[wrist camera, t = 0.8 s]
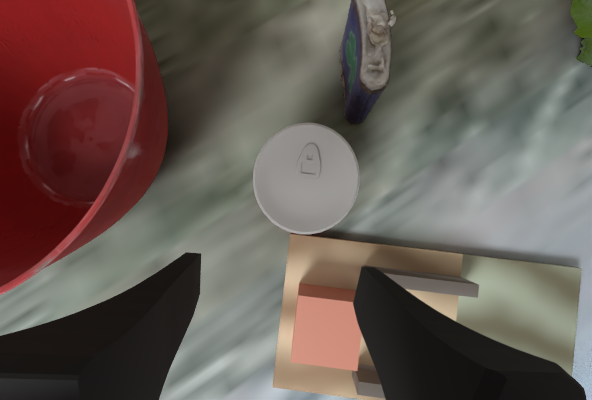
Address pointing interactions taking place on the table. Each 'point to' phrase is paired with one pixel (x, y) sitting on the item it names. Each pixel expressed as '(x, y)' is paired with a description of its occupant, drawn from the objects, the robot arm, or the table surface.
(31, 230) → the mixing bowl
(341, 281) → the lane board
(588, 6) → the fruit
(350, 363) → the block
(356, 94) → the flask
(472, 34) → the table surface
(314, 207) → the canned food
